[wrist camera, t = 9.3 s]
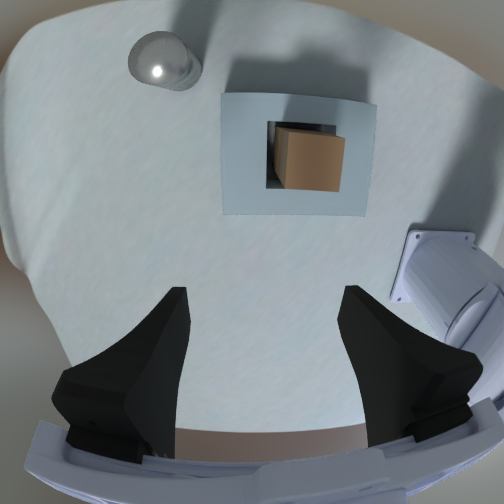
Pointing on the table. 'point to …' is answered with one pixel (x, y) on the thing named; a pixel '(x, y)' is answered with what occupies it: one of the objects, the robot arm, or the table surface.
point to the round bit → (164, 62)
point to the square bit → (308, 159)
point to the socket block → (255, 154)
